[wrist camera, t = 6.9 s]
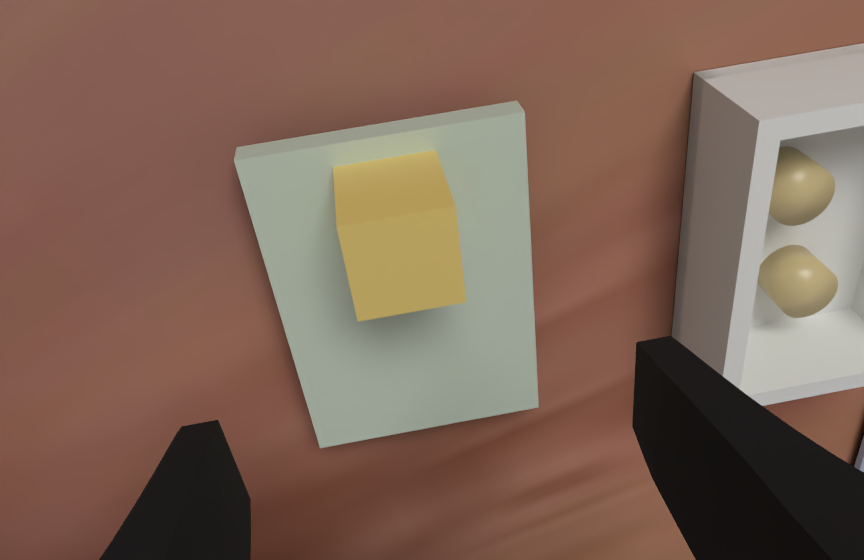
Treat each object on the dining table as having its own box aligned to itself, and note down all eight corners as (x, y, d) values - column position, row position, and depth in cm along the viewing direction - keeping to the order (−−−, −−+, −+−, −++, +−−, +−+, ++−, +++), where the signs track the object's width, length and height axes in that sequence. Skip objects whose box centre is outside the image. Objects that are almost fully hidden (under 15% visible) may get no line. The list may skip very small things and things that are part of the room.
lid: (525, 371, 25) (565, 478, 21) (319, 409, 25) (321, 525, 21) (508, 87, 19) (558, 163, 16) (239, 132, 19) (221, 221, 15)
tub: (853, 308, 25) (922, 375, 23) (670, 343, 25) (717, 414, 22) (926, 32, 20) (1029, 73, 17) (693, 72, 20) (759, 120, 17)
